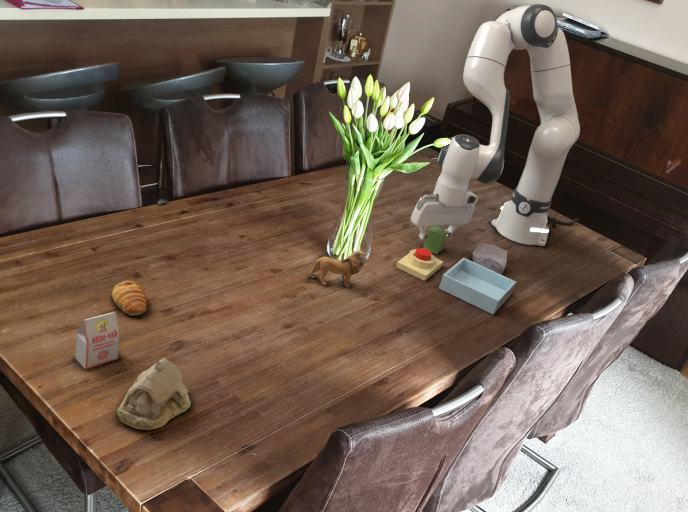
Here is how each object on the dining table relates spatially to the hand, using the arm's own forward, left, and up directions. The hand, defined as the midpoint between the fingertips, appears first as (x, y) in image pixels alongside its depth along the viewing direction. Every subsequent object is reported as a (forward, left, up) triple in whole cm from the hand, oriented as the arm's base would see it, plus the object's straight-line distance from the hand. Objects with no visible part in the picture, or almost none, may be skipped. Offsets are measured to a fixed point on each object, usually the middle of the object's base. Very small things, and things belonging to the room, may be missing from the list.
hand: (434, 237), depth 219 cm
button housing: (+14, +3, -4) cm, 15 cm away
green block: (0, +1, -4) cm, 4 cm away
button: (+14, +3, 0) cm, 14 cm away
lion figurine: (+41, -9, -4) cm, 42 cm away
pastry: (+87, -34, -4) cm, 94 cm away
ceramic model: (+109, -8, -4) cm, 109 cm away
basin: (+13, +20, -4) cm, 24 cm away
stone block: (-7, +16, -4) cm, 17 cm away
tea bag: (+106, -25, -4) cm, 109 cm away
